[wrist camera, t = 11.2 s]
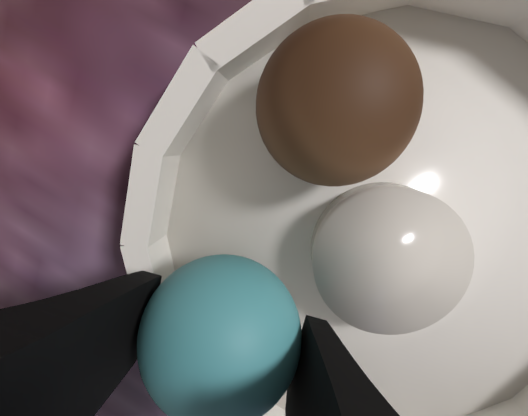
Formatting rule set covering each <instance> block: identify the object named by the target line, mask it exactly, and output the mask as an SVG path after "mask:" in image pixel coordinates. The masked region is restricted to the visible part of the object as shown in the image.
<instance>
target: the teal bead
mask: <svg viewBox="0 0 528 416" xmlns="http://www.w3.org/2000/svg"><path fill="white" fill-rule="evenodd" d="M301 343H302V331H301V323H300V318H299V314H298V310H297V308H296V305H295V302H294V300H293V298H292V296H291V294H290V292H289V291H288V289H287V288H286V286H285V285H284V284H283V282H282V281H281V280H280V279H279V278H278V277H277V276H276V275H275V274H274V273H273V272H272V271H270V270H269V269H268V268H266V267H265V266H263V265H262V264H260V263H258V262H256V261H254V260H252V259H249V258H246V257H242V256H237V255H229V254H220V255H210V256H205V257H201V258H198V259H195V260H193V261H191V262H189V263H187V264H185V265H183V266H181V267H180V268H178V269H177V270H175V271H174V272H173V273H172V274H170V275H169V276H168V277H167V278H166V279H165V280H164V281H163V282H162V283H161V284H160V286H159V287H158V288H157V289H156V291H155V292H154V293H153V295H152V296H151V298H150V300H149V301H148V303H147V306H146V308H145V310H144V312H143V315H142V318H141V322H140V326H139V330H138V335H137V360H138V365H139V370H140V374H141V377H142V380H143V383H144V385H145V387H146V389H147V391H148V393H149V395H150V396H151V398H152V399H153V401H154V402H155V403H156V404H157V406H158V407H159V408H160V409H161V410H162V411H163V412H164V413H165V414H167V415H168V416H263V415H264V414H266V413H267V412H268V411H270V410H271V409H272V408H273V407H274V406H275V405H276V404H277V402H278V401H279V400H280V399H281V397H282V396H283V395H284V394H285V392H286V391H287V389H288V387H289V385H290V384H291V382H292V380H293V378H294V375H295V372H296V370H297V367H298V363H299V358H300V354H301Z"/></svg>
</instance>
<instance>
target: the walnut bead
mask: <svg viewBox="0 0 528 416" xmlns="http://www.w3.org/2000/svg"><path fill="white" fill-rule="evenodd" d="M423 95H424V89H423V79H422V74H421V70H420V67H419V64H418V62H417V59H416V57H415V55H414V53H413V52H412V50H411V48H410V47H409V46H408V44H407V43H406V42H405V40H404V39H403V38H402V37H401V36H400V35H399V34H397V33H396V32H395V31H394V30H393V29H391V28H390V27H389V26H387V25H385V24H384V23H382V22H380V21H378V20H376V19H373V18H369V17H366V16H362V15H356V14H336V15H330V16H325V17H322V18H319V19H316V20H313V21H311V22H309V23H307V24H305V25H303V26H301V27H300V28H298V29H297V30H296V31H294V32H293V33H291V34H290V35H289V36H288V37H287V38H286V39H284V40H283V41H282V42H281V44H280V45H279V46H278V47H277V48H276V50H275V51H274V52H273V54H272V55H271V56H270V58H269V60H268V62H267V63H266V65H265V68H264V70H263V72H262V75H261V77H260V80H259V84H258V88H257V95H256V119H257V125H258V129H259V133H260V135H261V138H262V140H263V143H264V144H265V146H266V148H267V150H268V152H269V153H270V154H271V156H272V157H273V158H274V160H275V161H276V162H277V163H278V164H279V165H280V166H281V167H282V168H283V169H285V170H286V171H287V172H289V173H290V174H292V175H293V176H295V177H297V178H299V179H301V180H303V181H306V182H308V183H312V184H315V185H321V186H345V185H352V184H356V183H359V182H362V181H364V180H367V179H369V178H371V177H373V176H375V175H377V174H379V173H380V172H382V171H383V170H385V169H386V168H387V167H388V166H390V165H391V164H392V163H393V162H394V161H395V160H396V159H397V158H398V157H399V156H400V155H401V154H402V152H403V151H404V150H405V149H406V147H407V146H408V144H409V143H410V141H411V139H412V137H413V136H414V134H415V131H416V129H417V126H418V124H419V121H420V118H421V114H422V108H423Z"/></svg>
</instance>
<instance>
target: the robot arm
mask: <svg viewBox="0 0 528 416" xmlns="http://www.w3.org/2000/svg"><path fill="white" fill-rule="evenodd" d="M161 278H162V276H161V275H158V274H154V273H150V272H147V271H138V272H134V273H130V274H127V275H123V276H120V277H117V278H114V279H111V280H108V281H104V282H101V283H98V284H95V285H92V286H88V287H85V288H82V289H79V290H75V291H71V292H68V293H64V294H60V295H57V296H53V297H50V298H46V299H42V300H39V301H35V302H31V303H26V304H22V305H18V306H13V307H9V308H4V309H0V416H94V415H95V414H96V413H97V411H98V410H99V409H100V407H101V406H102V405H103V404H104V402H105V401H106V400H107V398H108V397H109V396H110V395H111V393H112V392H113V391H114V389H115V388H116V387H117V386H118V384H119V383H120V382H121V380H122V379H123V378H124V376H125V375H126V374H127V372H128V371H129V370H130V368H131V367H132V366H133V364H134V363H135V361H136V360H137V335H138V330H139V326H140V322H141V318H142V315H143V312H144V310H145V308H146V306H147V303H148V301H149V300H150V298H151V296H152V295H153V293H154V292H155V291H156V289H157V288H158V287H159V286H160V284H161ZM301 331H302V343H301V354H300V358H299V363H298V367H297V370H296V372H295V375H294V378H293V380H292V382H291V384H290V385H289V387H288V389H287V395H286V407H285V416H400V415H399V414H398V413H397V412H396V411H395V410H394V408H393V407H392V406H391V405H390V404H389V403H388V401H387V400H386V399H385V398H384V397H383V395H382V394H381V393H380V392H379V390H378V389H377V388H376V387H375V386H374V384H373V383H372V382H371V381H370V379H369V378H368V377H367V376H366V374H365V373H364V372H363V370H362V369H361V368H360V366H359V365H358V364H357V362H356V361H355V360H354V358H353V357H352V355H351V354H350V353H349V351H348V350H347V348H346V347H345V346H344V344H343V343H342V341H341V340H340V338H339V337H338V336H337V334H336V333H335V331H334V330H333V328H332V327H331V326H330V324H329V323H328V322H327V320H323V319H320V318H316V317H312V316H309V315H306V317H305V320H304V323H303V327H302V330H301Z"/></svg>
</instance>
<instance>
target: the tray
mask: <svg viewBox="0 0 528 416" xmlns="http://www.w3.org/2000/svg"><path fill="white" fill-rule="evenodd" d="M336 14H356V15H362V16H366V17H369V18H373V19H376V20H378V21H380V22H382V23H384V24H385V25H387V26H389V27H390V28H391V29H393V30H394V31H395V32H396V33H397V34H399V35H400V36H401V37H402V38H403V39H404V40H405V42H406V43H407V44H408V46H409V47H410V48H411V50H412V52H413V53H414V55H415V57H416V59H417V62H418V64H419V67H420V70H421V74H422V79H423V89H424V95H423V108H422V114H421V118H420V121H419V124H418V126H417V129H416V131H415V134H414V136H413V137H412V139H411V141H410V143H409V144H408V146H407V147H406V149H405V150H404V151H403V152H402V154H401V155H400V156H399V157H398V158H397V159H396V160H395V161H394V162H393V163H392V164H391V165H390V166H388V167H387V168H386V169H385V170H383V171H382V172H380V173H379V174H377V175H375V176H373V177H371V178H369V179H367V180H364V181H362V182H359V183H356V184H352V185H345V186H321V185H315V184H312V183H308V182H306V181H303V180H301V179H299V178H297V177H295V176H293V175H292V174H290V173H289V172H287V171H286V170H285V169H283V168H282V167H281V166H280V165H279V164H278V163H277V162H276V161H275V160H274V158H273V157H272V156H271V154H270V153H269V152H268V150H267V148H266V146H265V144H264V143H263V140H262V138H261V135H260V133H259V129H258V125H257V119H256V95H257V88H258V84H259V80H260V77H261V75H262V72H263V70H264V68H265V65H266V63H267V62H268V60H269V58H270V56H271V55H272V54H273V52H274V51H275V50H276V48H277V47H278V46H279V45H280V44H281V42H282V41H283V40H284V39H286V38H287V37H288V36H289V35H290V34H291V33H293V32H294V31H296V30H297V29H298V28H300V27H301V26H303V25H305V24H307V23H309V22H311V21H313V20H316V19H319V18H322V17H325V16H330V15H336ZM195 44H196V46H197V48H196V47H195V46H194V45H192V47H191V49H190V50H189V52H188V54H187V55H186V57H185V59H184V60H183V62H182V64H181V66H180V67H179V69H178V71H177V72H176V74H175V76H174V77H173V79H172V81H171V82H170V84H169V86H168V87H167V89H166V91H165V92H164V94H163V96H162V97H161V99H160V101H159V102H158V104H157V106H156V107H155V109H154V111H153V112H152V114H151V116H150V117H149V119H148V121H147V123H146V124H145V126H144V128H143V129H142V131H141V133H140V134H139V136H138V138H137V139H136V141H135V143H137V144H134V148H133V155H132V162H131V169H130V176H129V183H128V190H127V197H126V204H125V211H124V218H123V225H122V232H121V239H120V245H122V246H120V249H121V253H122V257H123V261H124V265H125V269H126V272H127V274H130V273H134V272H138V271H147V272H150V273H154V274H158V275H161V276H162V278H161V283H162V282H163V281H164V280H165V279H166V278H167V277H168V276H169V275H170V274H172V273H173V272H174V271H175V270H177V269H178V268H180V267H181V266H183V265H185V264H187V263H189V262H191V261H193V260H195V259H198V258H201V257H205V256H210V255H220V254H229V255H237V256H242V257H246V258H249V259H252V260H254V261H256V262H258V263H260V264H262V265H263V266H265V267H266V268H268V269H269V270H270V271H272V272H273V273H274V274H275V275H276V276H277V277H278V278H279V279H280V280H281V281H282V282H283V284H284V285H285V286H286V288H287V289H288V291H289V292H290V294H291V296H292V298H293V300H294V302H295V305H296V308H297V310H298V314H299V318H300V323H301V330H302V327H303V323H304V320H305V317H306V315H309V316H312V317H316V318H320V319H323V320H327V322H328V323H329V324H330V326H331V327H332V328H333V330H334V331H335V333H336V334H337V336H338V337H339V338H340V340H341V341H342V343H343V344H344V346H345V347H346V348H347V350H348V351H349V353H350V354H351V355H352V357H353V358H354V360H355V361H356V362H357V364H358V365H359V366H360V368H361V369H362V370H363V372H364V373H365V374H366V376H367V377H368V378H369V379H370V381H371V382H372V383H373V384H374V386H375V387H376V388H377V389H378V390H379V392H380V393H381V394H382V395H383V397H384V398H385V399H386V400H387V401H388V403H389V404H390V405H391V406H392V407H393V408H394V410H395V411H396V412H397V413H398V414H399V415H400V416H528V0H252V1H251V2H249V3H248V4H247V5H245V6H244V7H243V8H241V9H240V10H239V11H237V12H236V13H234V14H233V15H232V16H230V17H229V18H228V19H226V20H225V21H224V22H222V23H221V24H220V25H218V26H217V27H215V28H214V29H213V30H211V31H210V32H209V33H207V34H206V35H205V36H203V37H202V38H201V39H199V40H198V41H196V42H195ZM286 395H287V391H286V392H285V394H284V395H283V396H282V397H281V399H280V400H279V401H278V402H277V404H276V405H275V406H274V407H273V408H272V409H271V410H270V411H268V412H267V413H266V414H264V415H263V416H285V407H286Z"/></svg>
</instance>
